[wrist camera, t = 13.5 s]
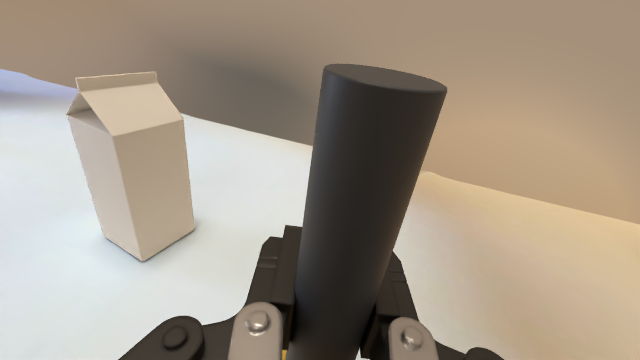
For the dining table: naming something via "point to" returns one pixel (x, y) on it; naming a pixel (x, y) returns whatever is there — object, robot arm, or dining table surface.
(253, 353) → the robot arm
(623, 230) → the dining table surface
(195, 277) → the dining table surface
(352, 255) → the sponge wand
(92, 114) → the milk carton
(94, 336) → the dining table surface
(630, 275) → the dining table surface
